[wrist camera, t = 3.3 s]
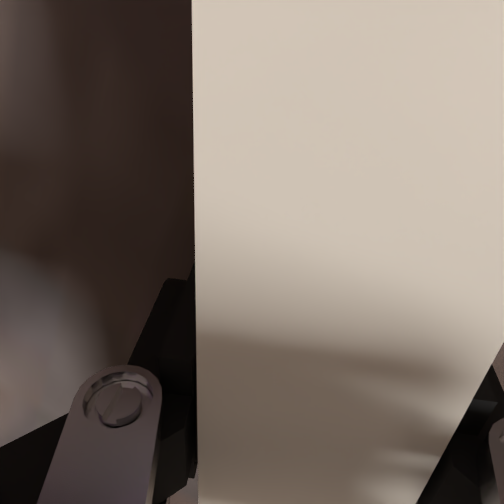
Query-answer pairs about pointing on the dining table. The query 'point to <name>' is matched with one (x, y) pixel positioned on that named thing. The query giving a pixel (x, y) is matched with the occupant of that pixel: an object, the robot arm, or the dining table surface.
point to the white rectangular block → (343, 241)
